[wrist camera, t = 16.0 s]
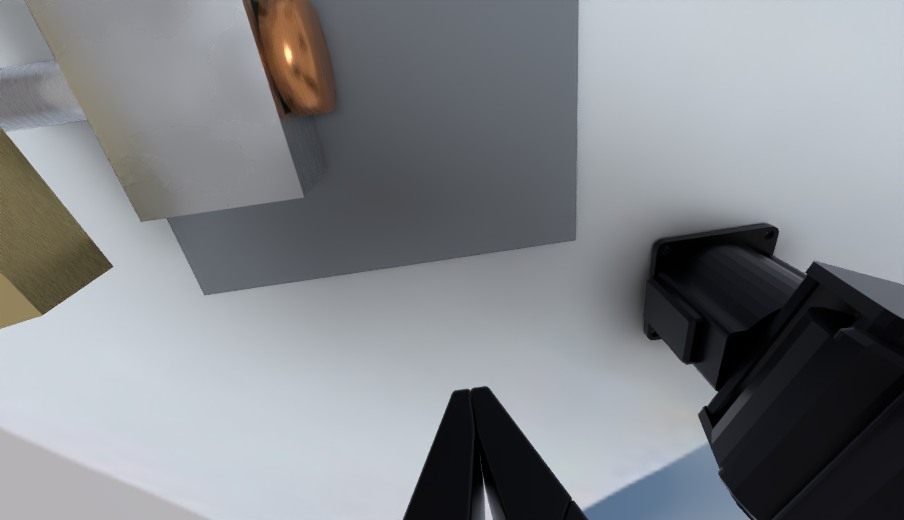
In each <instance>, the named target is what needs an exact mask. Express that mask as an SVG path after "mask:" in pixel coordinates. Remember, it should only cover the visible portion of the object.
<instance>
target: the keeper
mask: <svg viewBox="0 0 904 520" xmlns="http://www.w3.org/2000/svg"><path fill="white" fill-rule="evenodd" d="M112 267H113V266H112V264H111V263H110V262H109V261H108V259H107V258H106V257H105V256H104V254H103V253H102V252H101V251H100V249H99V248H98V247H97V246H96V244H95V243H94V242H93V241H92V240H91V238H90V237H89V236H88V235H87V233H86V232H85V231H84V230H83V228H82V227H81V226H80V225H79V223H78V222H77V221H76V220H75V218H74V217H73V216H72V215H71V214H70V212H69V211H68V210H67V209H66V207H65V206H64V205H63V204H62V202H61V201H60V200H59V199H58V197H57V196H56V195H55V194H54V192H53V191H52V190H51V189H50V188H49V186H48V185H47V184H46V183H45V181H44V180H43V179H42V178H41V176H40V175H39V174H38V173H37V171H36V170H35V169H34V168H33V166H32V165H31V164H30V163H29V162H28V160H27V159H26V158H25V157H24V155H23V154H22V153H21V152H20V150H19V149H18V148H17V147H16V145H15V144H14V143H13V142H12V140H11V139H10V138H9V137H8V135H7V134H6V133H5V132H4V131H3V129H2V128H1V127H0V329H1V328H4V327H7V326H11V325H14V324H17V323H20V322H23V321H26V320H29V319H32V318H36V317H39V316H42V315H44V314H45V313H47V312H48V311H49V310H51V309H52V308H54V307H55V306H57V305H58V304H60V303H61V302H63V301H64V300H66V299H67V298H68V297H70V296H71V295H73V294H74V293H76V292H77V291H79V290H80V289H82V288H83V287H84V286H86V285H87V284H89V283H90V282H92V281H93V280H95V279H96V278H98V277H99V276H101V275H102V274H103V273H105V272H106V271H108V270H109V269H111V268H112Z"/></svg>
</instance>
